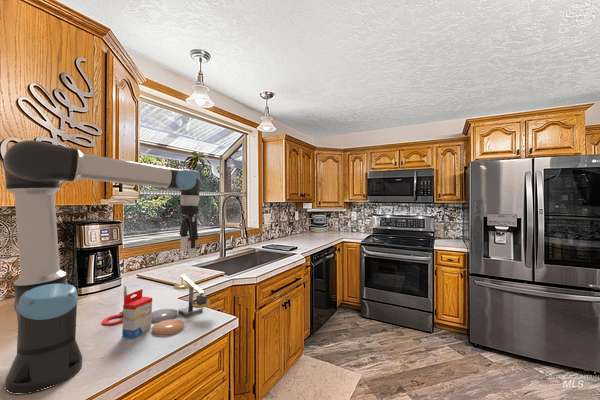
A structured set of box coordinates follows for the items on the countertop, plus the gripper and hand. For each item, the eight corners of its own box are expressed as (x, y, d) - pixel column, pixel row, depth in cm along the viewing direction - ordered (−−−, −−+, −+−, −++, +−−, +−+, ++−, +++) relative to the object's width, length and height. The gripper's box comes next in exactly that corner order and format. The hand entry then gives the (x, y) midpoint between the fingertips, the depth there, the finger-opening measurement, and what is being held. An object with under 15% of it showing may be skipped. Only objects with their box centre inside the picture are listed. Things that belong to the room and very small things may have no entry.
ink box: (133, 339, 92) (135, 297, 92) (121, 337, 93) (123, 295, 93) (151, 328, 100) (153, 289, 100) (140, 326, 101) (142, 288, 101)
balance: (196, 324, 104) (197, 287, 105) (168, 307, 120) (170, 275, 120) (214, 317, 110) (215, 282, 111) (185, 302, 126) (187, 272, 126)
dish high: (154, 325, 102) (154, 322, 102) (143, 317, 109) (143, 314, 109) (182, 316, 111) (182, 313, 111) (170, 309, 118) (170, 306, 118)
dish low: (159, 339, 92) (159, 335, 92) (147, 328, 99) (147, 325, 99) (189, 328, 101) (189, 325, 101) (176, 319, 108) (176, 316, 108)
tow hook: (110, 328, 100) (134, 318, 108) (109, 295, 99) (133, 287, 108) (97, 324, 103) (121, 314, 112) (96, 291, 103) (120, 284, 111)
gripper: (207, 205, 108) (205, 257, 108) (190, 204, 128) (188, 248, 128) (188, 205, 104) (185, 259, 103) (174, 204, 124) (171, 249, 123)
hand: (187, 253), depth 115 cm, fingers open, 13 cm apart
